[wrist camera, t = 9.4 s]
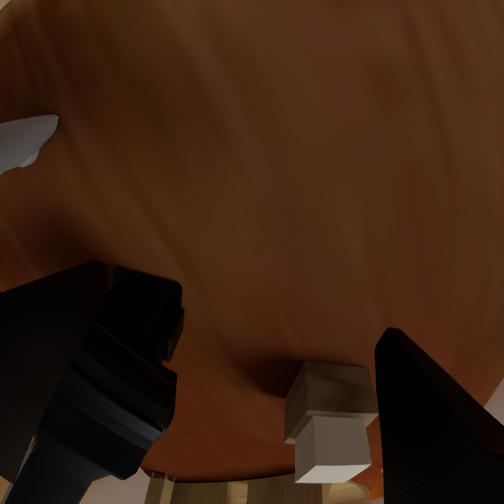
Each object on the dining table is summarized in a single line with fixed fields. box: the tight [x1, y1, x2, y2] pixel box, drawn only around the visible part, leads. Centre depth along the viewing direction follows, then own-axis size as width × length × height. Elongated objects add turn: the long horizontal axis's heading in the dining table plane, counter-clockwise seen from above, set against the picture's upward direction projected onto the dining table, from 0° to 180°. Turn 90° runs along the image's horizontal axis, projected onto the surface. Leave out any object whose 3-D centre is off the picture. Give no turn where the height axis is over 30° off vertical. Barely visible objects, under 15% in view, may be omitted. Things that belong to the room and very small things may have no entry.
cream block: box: [295, 416, 371, 483], centre depth 20 cm, size 5×5×5 cm
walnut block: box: [284, 360, 379, 444], centre depth 25 cm, size 7×7×6 cm
